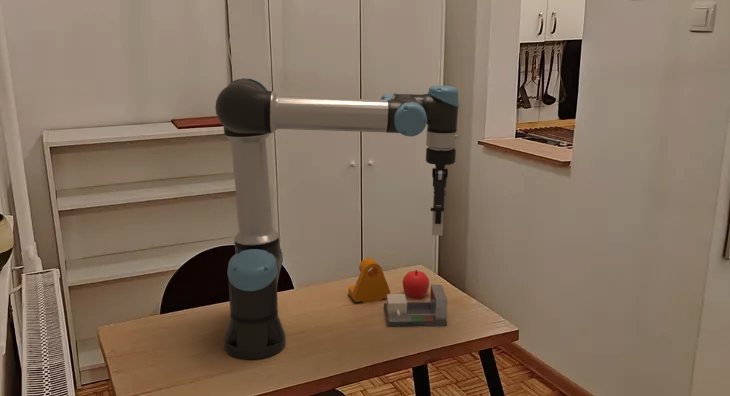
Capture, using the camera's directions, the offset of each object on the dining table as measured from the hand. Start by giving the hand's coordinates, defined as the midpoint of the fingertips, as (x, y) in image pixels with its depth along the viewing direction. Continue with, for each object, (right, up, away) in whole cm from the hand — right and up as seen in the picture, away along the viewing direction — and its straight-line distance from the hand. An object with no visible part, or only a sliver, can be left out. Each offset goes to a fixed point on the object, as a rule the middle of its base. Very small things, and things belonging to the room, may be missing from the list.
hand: (437, 226), depth 174 cm
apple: (-4, -22, +22) cm, 31 cm away
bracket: (-18, -22, +20) cm, 35 cm away
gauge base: (-5, -25, +8) cm, 27 cm away
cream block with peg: (-10, -24, +7) cm, 27 cm away
